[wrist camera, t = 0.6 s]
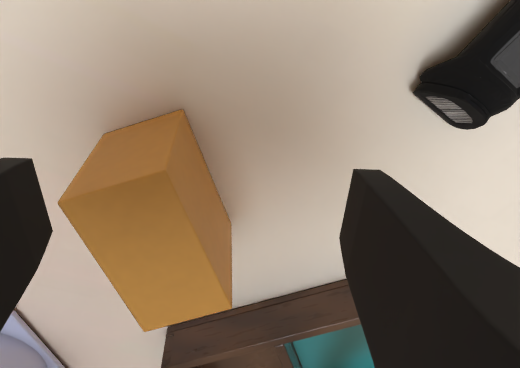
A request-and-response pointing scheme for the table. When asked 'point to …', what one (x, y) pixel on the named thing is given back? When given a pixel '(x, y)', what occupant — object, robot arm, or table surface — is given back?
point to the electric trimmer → (478, 75)
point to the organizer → (275, 334)
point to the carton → (154, 222)
